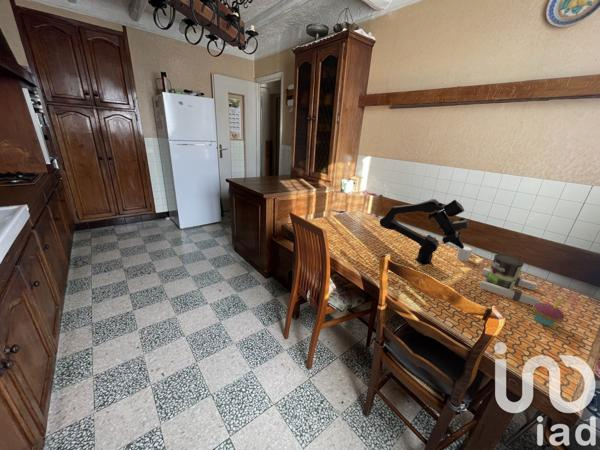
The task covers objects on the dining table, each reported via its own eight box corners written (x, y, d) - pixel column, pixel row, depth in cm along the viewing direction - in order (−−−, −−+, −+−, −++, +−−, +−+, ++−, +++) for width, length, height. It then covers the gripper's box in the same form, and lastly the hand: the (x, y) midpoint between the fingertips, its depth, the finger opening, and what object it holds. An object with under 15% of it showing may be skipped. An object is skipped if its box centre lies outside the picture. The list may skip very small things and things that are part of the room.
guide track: (479, 288, 112) (481, 280, 110) (482, 272, 125) (484, 265, 123) (537, 307, 100) (541, 299, 99) (534, 288, 113) (537, 281, 112)
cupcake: (550, 317, 95) (563, 291, 91) (564, 333, 87) (579, 305, 83) (524, 311, 98) (535, 286, 93) (535, 326, 90) (548, 299, 86)
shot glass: (471, 262, 134) (475, 251, 132) (458, 261, 136) (461, 249, 133) (466, 256, 141) (469, 246, 138) (453, 255, 142) (456, 244, 139)
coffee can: (497, 292, 109) (508, 265, 104) (479, 279, 119) (489, 253, 113) (518, 292, 110) (530, 264, 105) (499, 279, 119) (509, 253, 114)
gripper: (456, 218, 110) (478, 247, 107) (462, 209, 123) (482, 235, 121) (433, 229, 117) (453, 257, 115) (441, 220, 131) (459, 244, 128)
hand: (463, 248), depth 120 cm, fingers closed
